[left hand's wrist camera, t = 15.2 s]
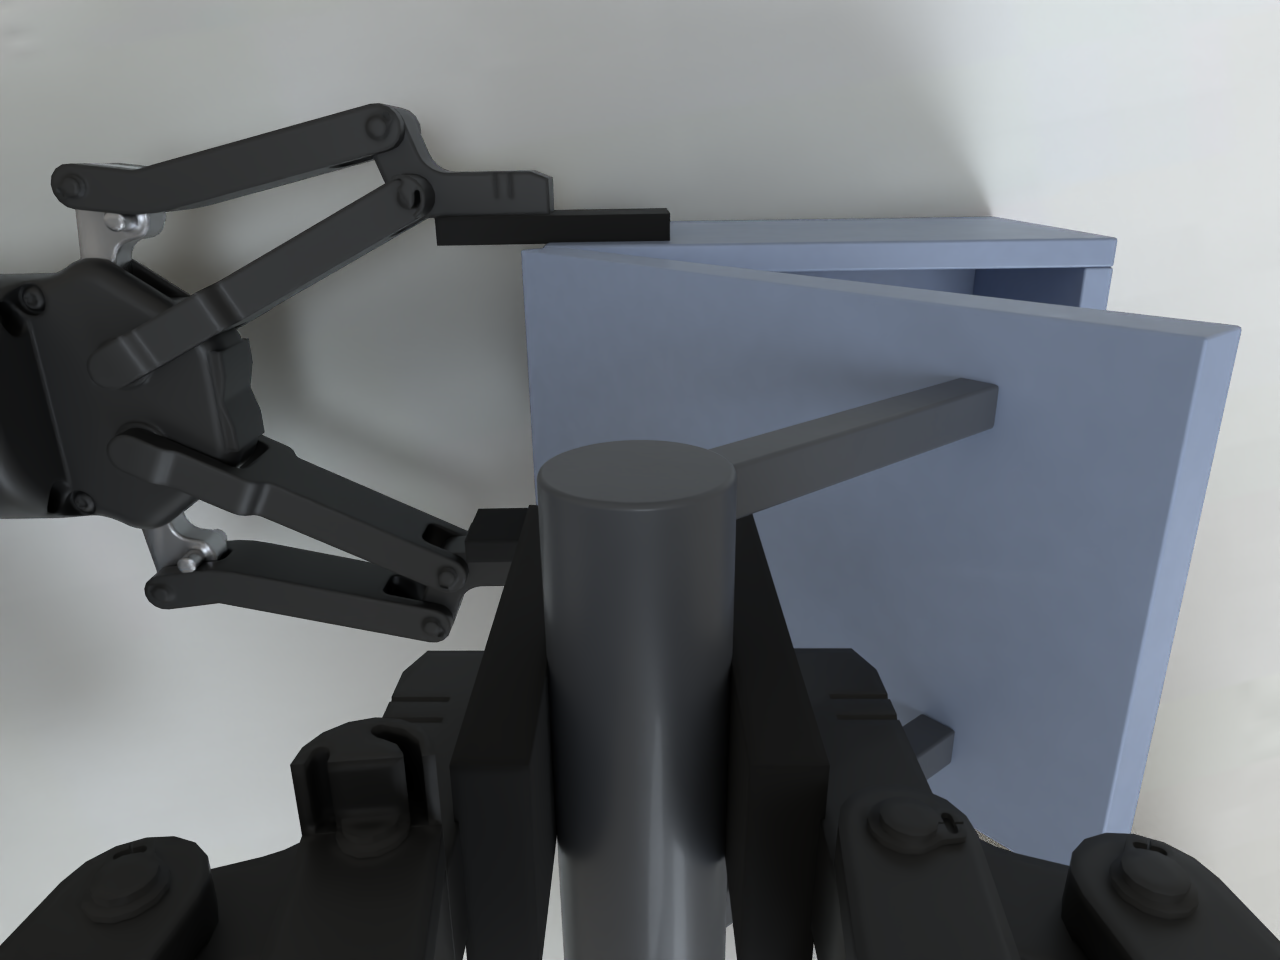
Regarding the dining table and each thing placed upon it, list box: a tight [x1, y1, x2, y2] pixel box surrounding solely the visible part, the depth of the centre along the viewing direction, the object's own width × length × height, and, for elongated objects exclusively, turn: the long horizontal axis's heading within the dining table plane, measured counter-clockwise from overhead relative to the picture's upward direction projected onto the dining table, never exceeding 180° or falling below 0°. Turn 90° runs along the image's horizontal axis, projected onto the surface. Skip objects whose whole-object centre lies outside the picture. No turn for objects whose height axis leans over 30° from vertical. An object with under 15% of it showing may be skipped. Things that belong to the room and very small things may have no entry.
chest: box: [544, 217, 1117, 310], centre depth 29 cm, size 16×9×9 cm, turn 91°
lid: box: [521, 247, 1241, 960], centre depth 17 cm, size 16×9×9 cm
